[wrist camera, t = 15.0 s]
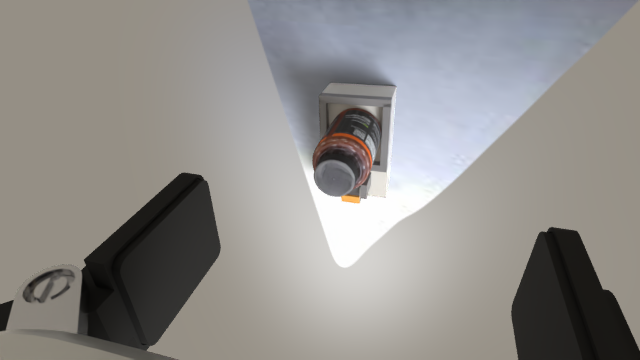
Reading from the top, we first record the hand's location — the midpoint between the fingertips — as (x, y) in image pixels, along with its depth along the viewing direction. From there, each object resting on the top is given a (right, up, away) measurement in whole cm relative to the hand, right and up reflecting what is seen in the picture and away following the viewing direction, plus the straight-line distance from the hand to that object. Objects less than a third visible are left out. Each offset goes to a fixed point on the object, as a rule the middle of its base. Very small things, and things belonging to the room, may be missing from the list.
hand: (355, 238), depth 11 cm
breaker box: (+4, +8, +39) cm, 39 cm away
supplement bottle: (+3, +8, +34) cm, 35 cm away
